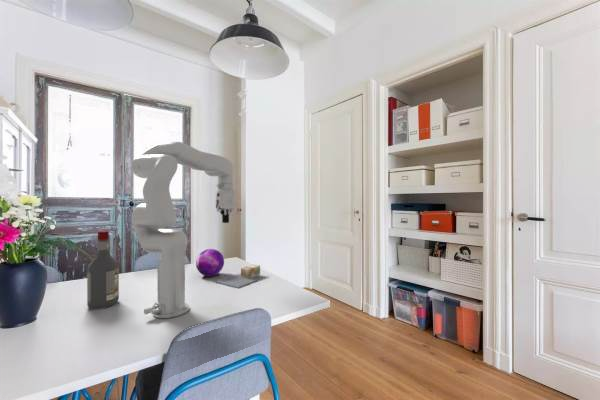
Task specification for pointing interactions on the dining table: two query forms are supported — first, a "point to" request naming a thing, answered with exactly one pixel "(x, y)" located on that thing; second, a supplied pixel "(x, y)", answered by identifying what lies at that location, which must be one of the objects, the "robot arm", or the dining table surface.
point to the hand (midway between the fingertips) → (225, 222)
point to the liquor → (102, 276)
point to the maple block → (250, 271)
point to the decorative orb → (210, 262)
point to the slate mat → (238, 281)
